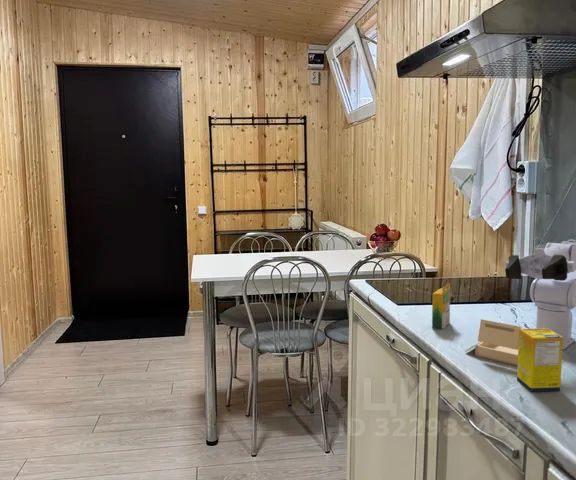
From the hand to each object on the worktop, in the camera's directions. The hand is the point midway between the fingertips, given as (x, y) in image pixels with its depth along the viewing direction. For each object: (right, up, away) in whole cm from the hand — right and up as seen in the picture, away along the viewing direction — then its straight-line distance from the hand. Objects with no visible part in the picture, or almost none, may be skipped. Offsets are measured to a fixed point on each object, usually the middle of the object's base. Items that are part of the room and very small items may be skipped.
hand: (525, 273), depth 109 cm
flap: (-4, -14, +4) cm, 15 cm away
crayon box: (-9, -17, +31) cm, 37 cm away
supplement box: (-1, -22, -9) cm, 24 cm away
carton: (+1, -19, +10) cm, 22 cm away
